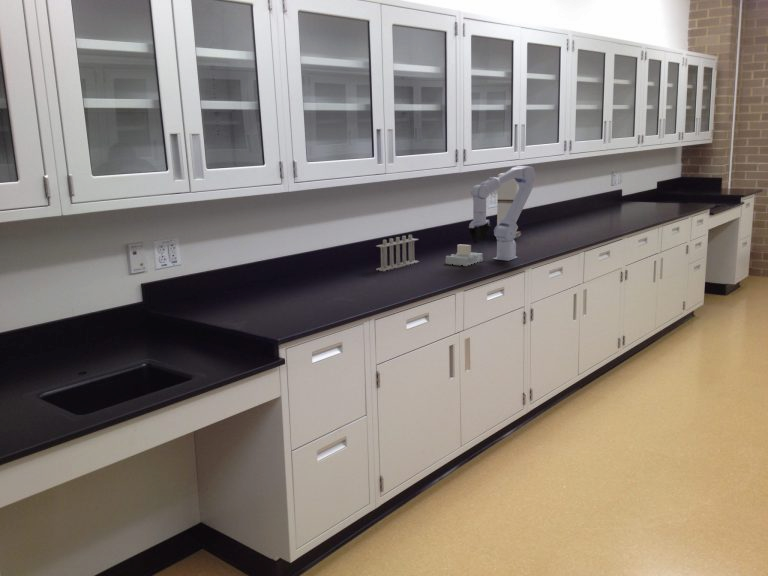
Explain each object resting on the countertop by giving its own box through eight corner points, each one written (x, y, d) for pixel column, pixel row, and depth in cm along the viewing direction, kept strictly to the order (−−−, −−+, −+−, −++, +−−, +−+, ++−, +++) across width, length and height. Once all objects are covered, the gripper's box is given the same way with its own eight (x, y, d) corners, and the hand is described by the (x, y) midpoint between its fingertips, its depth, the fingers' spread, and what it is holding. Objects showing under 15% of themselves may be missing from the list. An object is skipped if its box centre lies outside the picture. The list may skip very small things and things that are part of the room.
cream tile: (459, 259, 310) (459, 244, 308) (470, 260, 306) (471, 245, 305) (457, 259, 308) (457, 244, 307) (468, 261, 305) (468, 245, 303)
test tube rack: (411, 261, 313) (411, 233, 310) (419, 262, 310) (418, 234, 307) (376, 270, 294) (375, 240, 291) (383, 271, 291) (383, 241, 288)
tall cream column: (515, 238, 373) (516, 174, 365) (496, 237, 378) (497, 174, 370) (520, 235, 383) (522, 173, 375) (502, 234, 388) (503, 172, 380)
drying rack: (462, 258, 316) (462, 251, 315) (482, 261, 310) (482, 253, 309) (445, 263, 305) (445, 256, 304) (466, 266, 299) (466, 258, 298)
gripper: (480, 209, 310) (479, 238, 313) (463, 213, 299) (463, 243, 302) (493, 210, 306) (493, 240, 309) (477, 214, 295) (477, 244, 298)
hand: (479, 241), depth 305 cm, fingers open, 7 cm apart
